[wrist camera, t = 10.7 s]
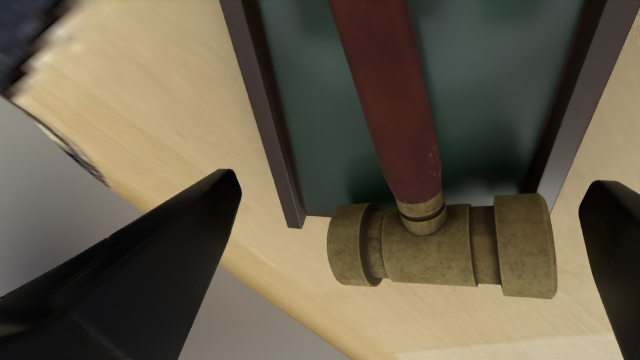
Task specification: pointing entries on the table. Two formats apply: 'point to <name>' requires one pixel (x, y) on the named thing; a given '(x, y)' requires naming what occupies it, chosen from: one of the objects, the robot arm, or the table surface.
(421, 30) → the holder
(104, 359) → the robot arm
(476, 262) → the gavel
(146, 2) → the table surface
